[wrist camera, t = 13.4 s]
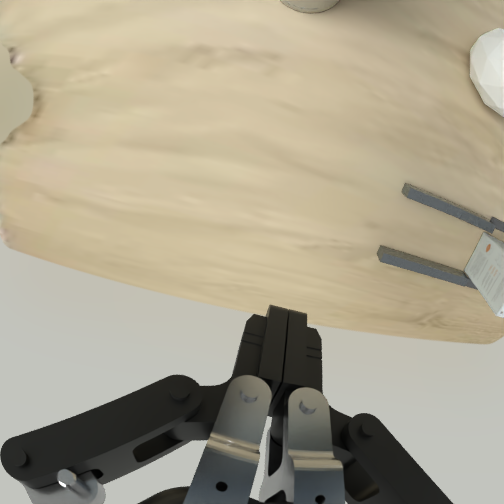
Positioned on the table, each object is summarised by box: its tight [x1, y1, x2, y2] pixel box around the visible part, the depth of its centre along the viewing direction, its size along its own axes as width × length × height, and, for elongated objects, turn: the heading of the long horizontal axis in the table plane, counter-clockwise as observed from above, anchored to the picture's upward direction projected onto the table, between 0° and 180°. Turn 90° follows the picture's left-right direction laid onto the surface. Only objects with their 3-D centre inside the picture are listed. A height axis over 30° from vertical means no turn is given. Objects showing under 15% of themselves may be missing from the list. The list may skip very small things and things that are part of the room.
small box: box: [464, 232, 504, 318], centre depth 35 cm, size 8×6×13 cm
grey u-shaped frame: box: [377, 183, 496, 286], centre depth 40 cm, size 12×18×2 cm, turn 78°
